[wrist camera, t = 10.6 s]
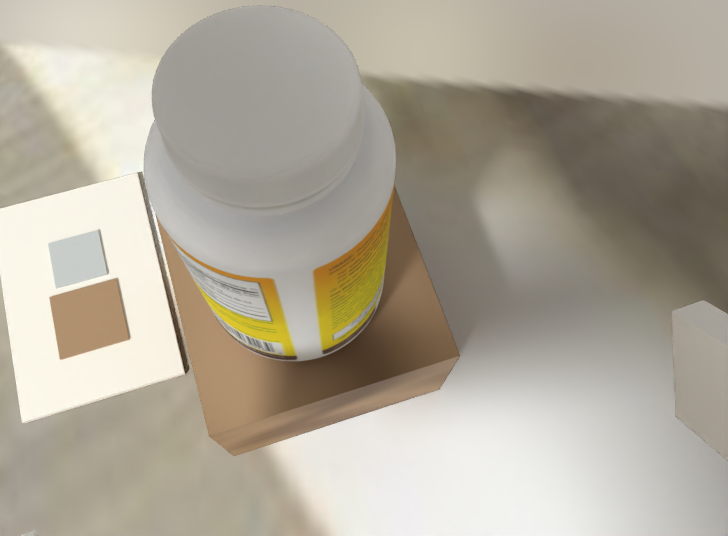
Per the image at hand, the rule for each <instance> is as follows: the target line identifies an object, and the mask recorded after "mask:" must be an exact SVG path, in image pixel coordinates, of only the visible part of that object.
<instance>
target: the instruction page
mask: <svg viewBox="0 0 728 536" xmlns="http://www.w3.org/2000/svg"><path fill="white" fill-rule="evenodd" d="M0 275H1V282H2V289H3V296H4V303H5V309H6V316H7V323H8V330H9V337H10V344H11V351H12V358H13V364H14V371H15V378H16V385H17V392H18V399H19V406H20V413H21V419H22V423H27V422H30V421H34V420H37V419H40V418H43V417H47V416H50V415H53V414H56V413H60V412H63V411H66V410H70V409H73V408H76V407H79V406H83V405H86V404H89V403H93V402H96V401H99V400H102V399H106V398H109V397H112V396H115V395H119V394H122V393H125V392H129V391H132V390H135V389H138V388H142V387H145V386H148V385H151V384H155V383H158V382H161V381H165V380H168V379H171V378H174V377H178V376H181V375H184V374H185V370H184V366H183V362H182V357H181V353H180V349H179V345H178V341H177V336H176V332H175V328H174V324H173V319H172V315H171V311H170V307H169V302H168V298H167V294H166V290H165V286H164V281H163V277H162V273H161V269H160V264H159V260H158V256H157V252H156V248H155V243H154V239H153V235H152V231H151V226H150V222H149V218H148V214H147V209H146V205H145V201H144V197H143V193H142V188H141V184H140V180H139V176H138V174H137V173H134V174H131V175H127V176H123V177H119V178H115V179H112V180H108V181H104V182H100V183H96V184H92V185H89V186H85V187H81V188H77V189H73V190H69V191H66V192H62V193H58V194H54V195H50V196H46V197H43V198H39V199H35V200H31V201H27V202H23V203H20V204H16V205H12V206H8V207H4V208H0Z"/></svg>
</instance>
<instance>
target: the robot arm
mask: <svg viewBox="0 0 728 536" xmlns="http://www.w3.org/2000/svg"><path fill="white" fill-rule="evenodd" d="M672 335H673V361H674V388H675V414H676V417H677V418H678V419H679V420H680V421H682V422H683V423H684V424H685V425H686V426H688V427H689V428H690V429H691V430H692V431H693V432H695V433H696V434H697V435H698V436H699V437H701V438H702V439H703V440H704V441H705V442H707V443H708V444H709V445H710V446H711V447H713V448H714V449H715V450H716V451H717V452H718V453H720V454H721V455H722V456H723V457H724V458H726V459H727V460H728V314H727V313H726V312H724V311H722V310H720V309H719V308H717V307H715V306H713V305H712V304H710V303H708V302H706V301H705V300H702V301H699V302H696V303H693V304H690V305H688V306H685V307H682V308H679V309H676V310H673V311H672ZM20 536H38V535H37V533H36V531H35V530H34V531H31V532H28V533H26V534H23V535H20Z"/></svg>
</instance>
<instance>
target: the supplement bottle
mask: <svg viewBox="0 0 728 536" xmlns="http://www.w3.org/2000/svg"><path fill="white" fill-rule="evenodd" d="M152 107H153V114H154V117H155V120H154V122H153V124H152V126H151V129H150V132H149V135H148V139H147V142H146V146H145V153H144V180H145V185H146V189H147V194H148V197H149V199H150V202H151V205H152V207H153V209H154V211H155V214H156V216H157V218H158V220H159V222H160V223H161V225H162V227H163V229H164V230H165V232H166V234H167V235H168V237H169V239H170V240H171V242H172V244H173V245H174V247H175V249H176V250H177V252H178V254H179V255H180V257H181V259H182V260H183V262H184V264H185V266H186V267H187V269H188V271H189V273H190V275H191V276H192V278H193V280H194V282H195V283H196V285H197V286H198V288H199V290H200V291H201V293H202V295H203V297H204V298H205V300H206V301H207V303H208V304H209V306H210V308H211V310H212V311H213V313H214V315H215V317H216V319H217V321H218V322H219V323H220V324H221V326H222V327H223V328H224V329H225V331H226V332H227V333H228V334H229V335H230V336H231V337H232V338H233V339H234V340H235V341H236V342H238V343H239V344H240V345H242V346H243V347H245V348H246V349H248V350H250V351H252V352H254V353H256V354H258V355H260V356H263V357H266V358H270V359H274V360H280V361H306V360H312V359H317V358H320V357H323V356H326V355H329V354H331V353H333V352H335V351H337V350H339V349H340V348H342V347H344V346H345V345H347V344H348V343H350V342H351V341H352V340H353V339H354V338H356V337H357V336H358V334H359V333H360V332H361V331H362V330H363V329H364V328H365V327H366V326H367V324H368V323H369V322H370V320H371V318H372V317H373V315H374V313H375V311H376V309H377V307H378V304H379V301H380V298H381V294H382V290H383V283H384V273H385V265H386V255H387V247H388V237H389V228H390V218H391V209H392V201H393V192H394V183H395V172H396V149H395V142H394V137H393V133H392V129H391V126H390V124H389V121H388V119H387V116H386V114H385V112H384V110H383V108H382V107H381V105H380V104H379V102H378V101H377V99H376V98H375V97H374V95H373V94H372V93H371V92H370V91H369V90H368V88H367V87H366V86H365V85H364V84H363V83H362V82H361V78H360V74H359V70H358V66H357V64H356V61H355V59H354V57H353V55H352V53H351V51H350V50H349V48H348V47H347V45H346V44H345V43H344V42H343V40H342V39H341V38H340V37H339V36H338V35H337V34H336V33H335V32H334V31H333V30H331V29H330V28H329V27H328V26H326V25H325V24H323V23H321V22H320V21H318V20H317V19H315V18H313V17H311V16H309V15H306V14H304V13H301V12H298V11H295V10H291V9H287V8H282V7H276V6H244V7H238V8H233V9H229V10H225V11H222V12H219V13H216V14H214V15H212V16H209V17H207V18H205V19H203V20H201V21H200V22H198V23H196V24H195V25H193V26H191V27H190V28H188V29H187V30H186V31H185V32H184V33H182V34H181V35H180V36H179V37H178V38H177V39H176V40H175V41H174V42H173V43H172V45H171V46H170V47H169V48H168V50H167V51H166V53H165V54H164V56H163V57H162V59H161V61H160V63H159V65H158V68H157V70H156V73H155V76H154V80H153V86H152Z"/></svg>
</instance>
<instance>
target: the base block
mask: <svg viewBox="0 0 728 536" xmlns="http://www.w3.org/2000/svg"><path fill="white" fill-rule="evenodd" d="M156 218H157V216H156ZM157 222H158V226H159V231H160V235H161V239H162V243H163V247H164V251H165V255H166V260H167V264H168V268H169V272H170V276H171V280H172V284H173V289H174V293H175V297H176V301H177V305H178V309H179V313H180V318H181V322H182V326H183V330H184V334H185V338H186V343H187V347H188V351H189V355H190V359H191V363H192V367H193V372H194V376H195V380H196V384H197V388H198V392H199V396H200V401H201V405H202V409H203V413H204V417H205V421H206V425H207V430H208V434H209V436H210V437H211V438H212V439H213V440H215V441H216V442H217V443H218V444H220V445H221V446H222V447H223V448H225V449H226V450H227V451H228V452H229V453H231V454H232V455H233V456H236V455H239V454H242V453H245V452H248V451H251V450H254V449H257V448H260V447H263V446H267V445H270V444H273V443H276V442H279V441H282V440H285V439H288V438H291V437H294V436H297V435H300V434H303V433H306V432H310V431H313V430H316V429H319V428H322V427H325V426H328V425H331V424H334V423H337V422H340V421H343V420H346V419H350V418H353V417H356V416H359V415H362V414H365V413H368V412H371V411H374V410H377V409H380V408H383V407H386V406H389V405H393V404H396V403H399V402H402V401H405V400H408V399H411V398H414V397H417V396H420V395H423V394H426V393H429V392H432V391H436V390H439V389H440V387H441V386H442V384H443V383H444V381H445V379H446V378H447V376H448V374H449V373H450V371H451V370H452V368H453V366H454V365H455V363H456V361H457V360H458V358H459V357H460V355H459V352H458V349H457V347H456V344H455V342H454V339H453V336H452V334H451V331H450V329H449V326H448V324H447V321H446V318H445V316H444V313H443V311H442V308H441V305H440V303H439V300H438V298H437V295H436V293H435V290H434V287H433V285H432V282H431V280H430V277H429V274H428V272H427V269H426V267H425V264H424V262H423V259H422V256H421V254H420V251H419V249H418V246H417V243H416V241H415V238H414V236H413V233H412V231H411V228H410V225H409V223H408V220H407V218H406V215H405V212H404V210H403V207H402V205H401V202H400V200H399V197H398V194H397V192H396V189H395V187H394V192H393V201H392V209H391V218H390V228H389V237H388V247H387V255H386V265H385V273H384V283H383V290H382V294H381V298H380V301H379V304H378V307H377V309H376V311H375V313H374V315H373V317H372V318H371V320H370V322H369V323H368V324H367V326H366V327H365V328H364V329H363V330H362V331H361V332H360V333H359V334H358V336H357V337H356V338H354V339H353V340H352V341H351V342H350V343H348V344H347V345H345V346H344V347H342V348H340V349H339V350H337V351H335V352H333V353H331V354H329V355H326V356H323V357H320V358H317V359H312V360H306V361H280V360H274V359H270V358H266V357H263V356H260V355H258V354H256V353H254V352H252V351H250V350H248V349H246V348H245V347H243V346H242V345H240V344H239V343H238V342H236V341H235V340H234V339H233V338H232V337H231V336H230V335H229V334H228V333H227V332H226V331H225V329H224V328H223V327H222V326H221V324H220V323H219V322H218V321H217V319H216V317H215V315H214V313H213V311H212V310H211V308H210V306H209V304H208V303H207V301H206V300H205V298H204V297H203V295H202V293H201V291H200V290H199V288H198V286H197V285H196V283H195V282H194V280H193V278H192V276H191V275H190V273H189V271H188V269H187V267H186V266H185V264H184V262H183V260H182V259H181V257H180V255H179V254H178V252H177V250H176V249H175V247H174V245H173V244H172V242H171V240H170V239H169V237H168V235H167V234H166V232H165V230H164V229H163V227H162V225H161V223H160V222H159V220H158V218H157Z"/></svg>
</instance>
